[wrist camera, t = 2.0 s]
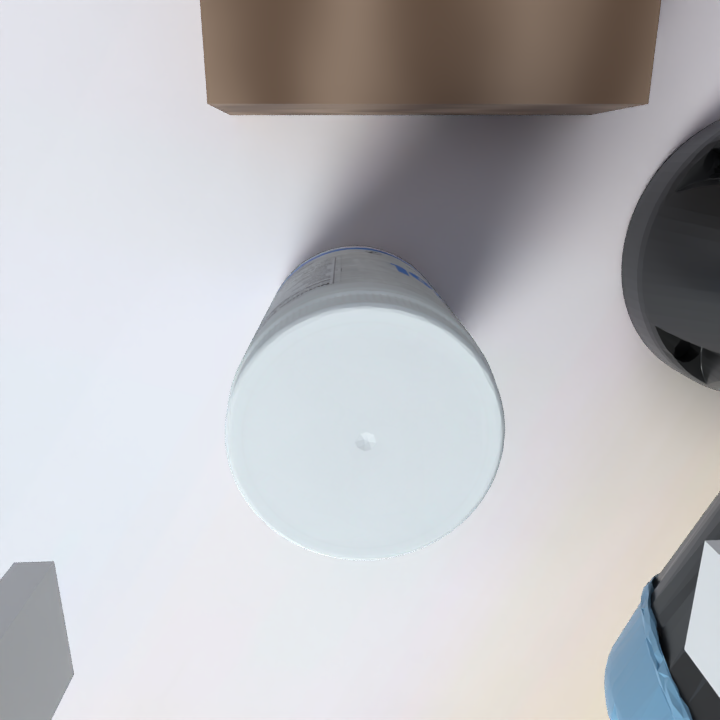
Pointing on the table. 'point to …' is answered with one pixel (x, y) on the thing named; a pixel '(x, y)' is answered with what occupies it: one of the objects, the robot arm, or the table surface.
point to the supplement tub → (362, 411)
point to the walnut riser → (428, 56)
